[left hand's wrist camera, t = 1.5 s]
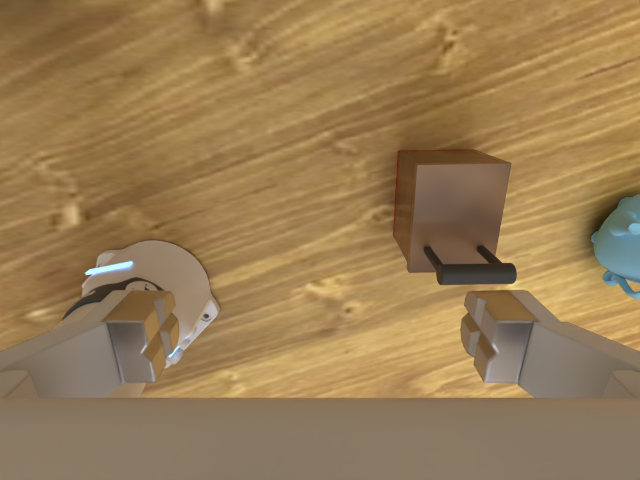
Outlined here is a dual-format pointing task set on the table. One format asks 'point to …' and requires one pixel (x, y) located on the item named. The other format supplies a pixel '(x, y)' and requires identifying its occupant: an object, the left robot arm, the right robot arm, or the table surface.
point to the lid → (459, 222)
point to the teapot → (620, 245)
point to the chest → (406, 183)
